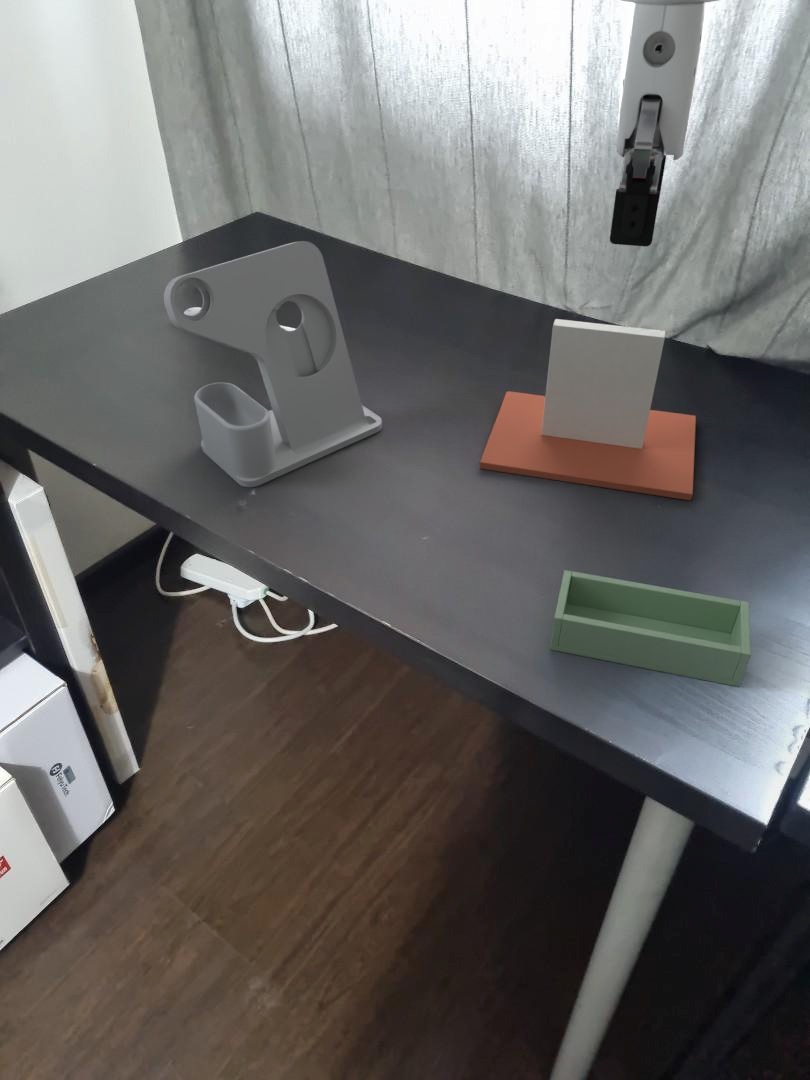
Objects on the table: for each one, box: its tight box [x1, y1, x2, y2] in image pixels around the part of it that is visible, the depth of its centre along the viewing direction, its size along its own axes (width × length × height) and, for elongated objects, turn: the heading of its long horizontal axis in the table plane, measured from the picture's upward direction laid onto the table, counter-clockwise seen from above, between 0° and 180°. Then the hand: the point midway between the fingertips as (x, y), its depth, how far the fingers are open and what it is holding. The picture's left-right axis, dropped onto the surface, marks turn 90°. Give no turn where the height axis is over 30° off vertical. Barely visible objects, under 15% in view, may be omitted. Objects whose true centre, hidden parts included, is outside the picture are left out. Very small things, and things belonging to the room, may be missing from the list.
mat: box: [479, 391, 697, 502], centre depth 83 cm, size 20×14×1 cm
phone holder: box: [163, 240, 383, 488], centre depth 80 cm, size 17×10×18 cm, turn 129°
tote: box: [549, 569, 752, 688], centre depth 62 cm, size 14×5×4 cm, turn 74°
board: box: [541, 318, 666, 449], centre depth 79 cm, size 10×1×12 cm, turn 74°
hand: (634, 222), depth 68 cm, fingers open, 9 cm apart
